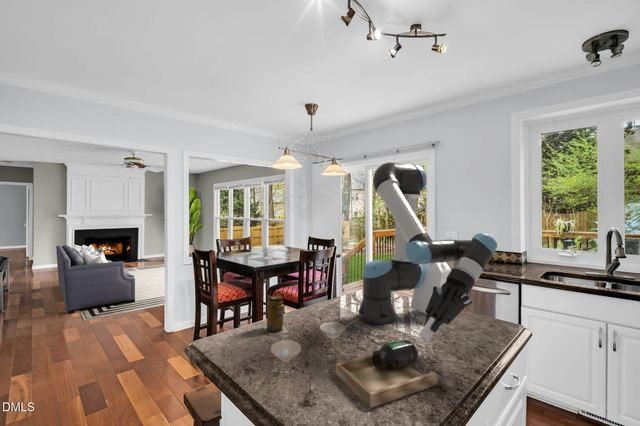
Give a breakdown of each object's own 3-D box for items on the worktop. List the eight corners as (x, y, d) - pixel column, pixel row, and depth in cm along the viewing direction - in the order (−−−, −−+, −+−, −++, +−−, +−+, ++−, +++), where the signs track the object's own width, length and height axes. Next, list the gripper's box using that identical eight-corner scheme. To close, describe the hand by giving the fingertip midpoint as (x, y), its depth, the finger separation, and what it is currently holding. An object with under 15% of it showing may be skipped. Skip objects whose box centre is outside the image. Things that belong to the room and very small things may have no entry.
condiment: (281, 324, 122) (281, 293, 122) (288, 332, 114) (289, 299, 114) (262, 327, 119) (262, 296, 119) (269, 336, 111) (269, 302, 111)
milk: (423, 303, 147) (431, 248, 145) (447, 312, 139) (456, 254, 137) (410, 307, 139) (419, 250, 137) (435, 317, 131) (444, 256, 129)
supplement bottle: (409, 335, 92) (376, 342, 87) (422, 357, 88) (388, 367, 82) (399, 346, 96) (366, 354, 91) (411, 369, 92) (377, 378, 86)
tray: (395, 358, 96) (395, 348, 96) (436, 384, 82) (437, 373, 82) (335, 374, 86) (335, 363, 86) (370, 408, 72) (371, 395, 72)
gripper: (488, 288, 93) (447, 355, 86) (452, 278, 105) (413, 337, 97) (477, 271, 90) (434, 339, 83) (441, 264, 102) (400, 323, 95)
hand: (423, 338), depth 90 cm, fingers closed
